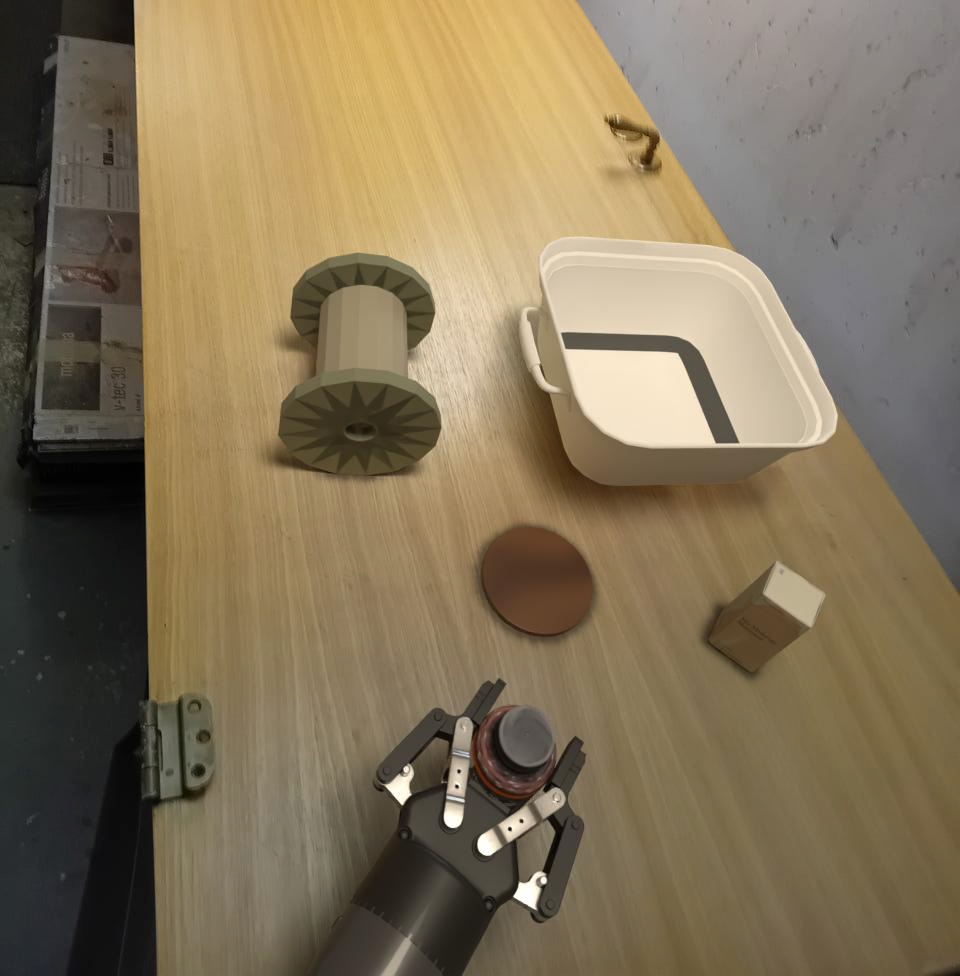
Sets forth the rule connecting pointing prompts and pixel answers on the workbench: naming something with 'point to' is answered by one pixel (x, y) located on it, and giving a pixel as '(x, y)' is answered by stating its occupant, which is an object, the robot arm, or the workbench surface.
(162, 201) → the workbench surface
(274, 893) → the workbench surface
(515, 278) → the workbench surface
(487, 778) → the supplement bottle
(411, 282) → the spool
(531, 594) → the disc
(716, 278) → the pot
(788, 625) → the box
